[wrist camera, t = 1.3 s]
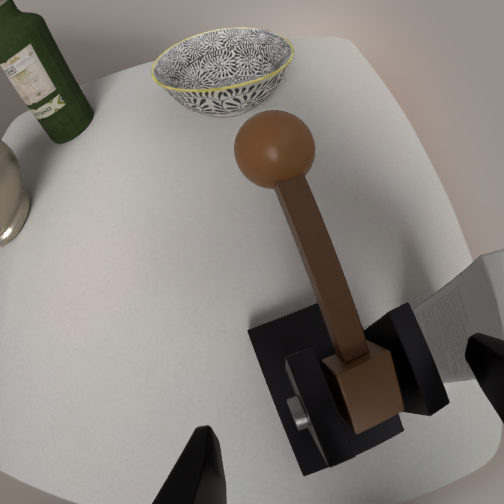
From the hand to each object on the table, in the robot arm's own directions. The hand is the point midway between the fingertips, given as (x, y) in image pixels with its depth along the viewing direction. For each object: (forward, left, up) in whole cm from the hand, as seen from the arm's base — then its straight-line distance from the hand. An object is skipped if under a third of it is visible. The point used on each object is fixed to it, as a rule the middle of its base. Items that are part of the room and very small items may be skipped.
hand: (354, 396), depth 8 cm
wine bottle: (+43, +19, -14) cm, 49 cm away
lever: (+5, -1, -3) cm, 6 cm away
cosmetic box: (-1, -10, -14) cm, 17 cm away
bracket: (0, -1, -14) cm, 14 cm away
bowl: (+33, -4, -14) cm, 36 cm away
